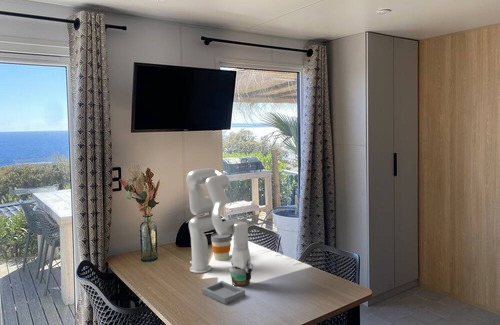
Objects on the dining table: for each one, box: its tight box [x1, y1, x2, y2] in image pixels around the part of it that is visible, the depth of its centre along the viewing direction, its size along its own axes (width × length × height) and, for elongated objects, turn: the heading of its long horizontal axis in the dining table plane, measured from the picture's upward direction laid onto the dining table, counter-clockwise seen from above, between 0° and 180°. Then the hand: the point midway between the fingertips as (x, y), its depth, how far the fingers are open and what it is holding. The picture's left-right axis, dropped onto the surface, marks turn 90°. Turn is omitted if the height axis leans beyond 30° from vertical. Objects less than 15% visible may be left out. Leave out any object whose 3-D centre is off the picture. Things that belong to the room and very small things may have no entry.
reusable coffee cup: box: [210, 232, 232, 262], centre depth 258 cm, size 13×13×15 cm
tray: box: [201, 280, 246, 306], centre depth 204 cm, size 18×13×3 cm
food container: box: [228, 266, 251, 288], centre depth 215 cm, size 12×6×10 cm, turn 106°
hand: (242, 277), depth 214 cm, fingers open, 9 cm apart
